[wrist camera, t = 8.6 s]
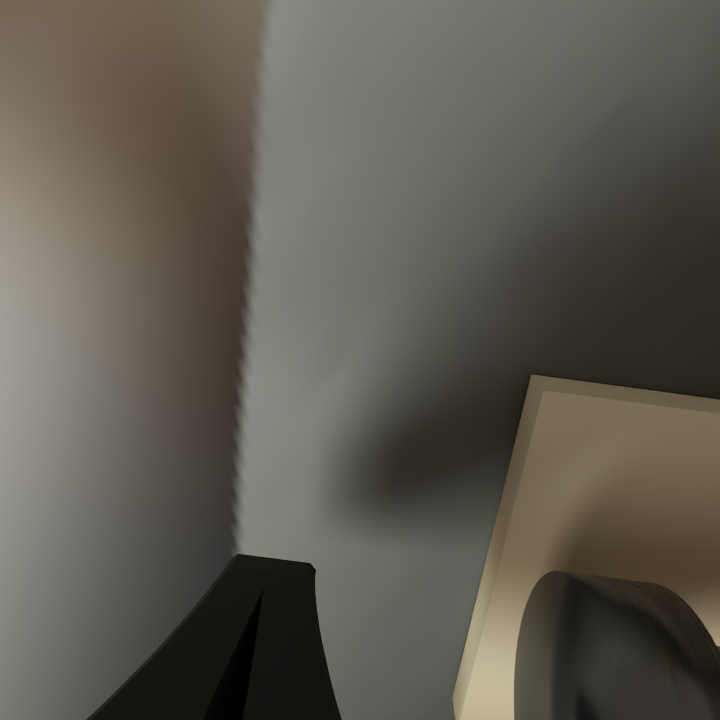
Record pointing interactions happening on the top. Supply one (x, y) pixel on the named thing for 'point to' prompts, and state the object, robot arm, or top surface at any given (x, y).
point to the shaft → (613, 653)
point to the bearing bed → (595, 515)
